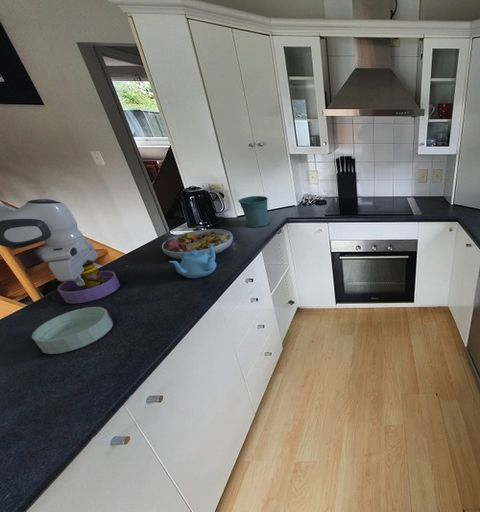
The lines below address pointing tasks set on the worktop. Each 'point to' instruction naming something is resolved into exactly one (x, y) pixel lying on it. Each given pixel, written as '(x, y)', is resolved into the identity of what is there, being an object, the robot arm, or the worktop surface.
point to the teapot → (196, 263)
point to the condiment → (91, 275)
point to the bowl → (197, 242)
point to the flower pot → (255, 210)
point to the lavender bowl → (75, 296)
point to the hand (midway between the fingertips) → (87, 279)
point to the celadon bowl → (72, 330)
